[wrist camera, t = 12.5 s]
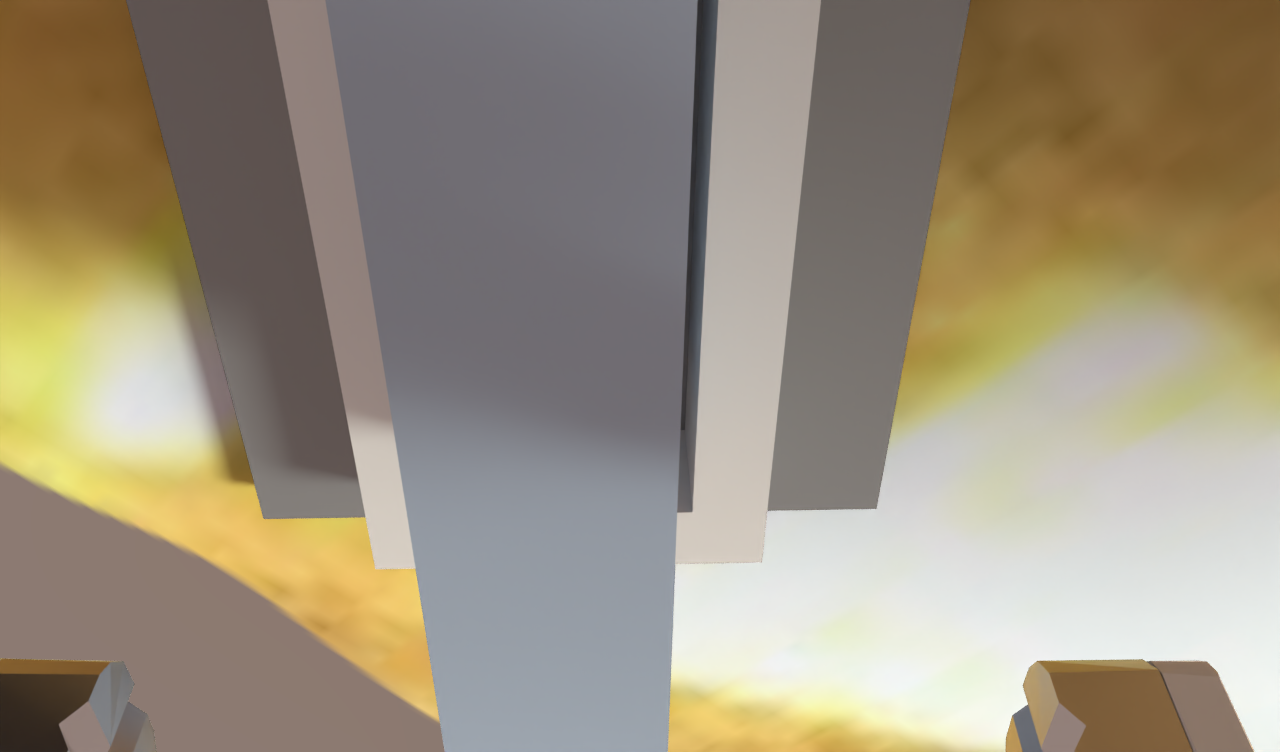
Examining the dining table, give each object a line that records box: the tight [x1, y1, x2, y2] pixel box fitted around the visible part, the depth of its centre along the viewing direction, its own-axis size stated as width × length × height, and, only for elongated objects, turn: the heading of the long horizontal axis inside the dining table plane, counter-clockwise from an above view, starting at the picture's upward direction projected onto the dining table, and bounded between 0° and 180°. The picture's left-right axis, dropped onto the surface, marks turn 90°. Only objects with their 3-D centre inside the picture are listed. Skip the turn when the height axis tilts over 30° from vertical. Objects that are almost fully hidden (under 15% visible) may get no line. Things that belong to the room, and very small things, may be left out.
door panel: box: [325, 0, 698, 752], centre depth 17 cm, size 3×12×10 cm, turn 0°
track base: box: [126, 0, 970, 569], centre depth 20 cm, size 14×21×4 cm, turn 0°
